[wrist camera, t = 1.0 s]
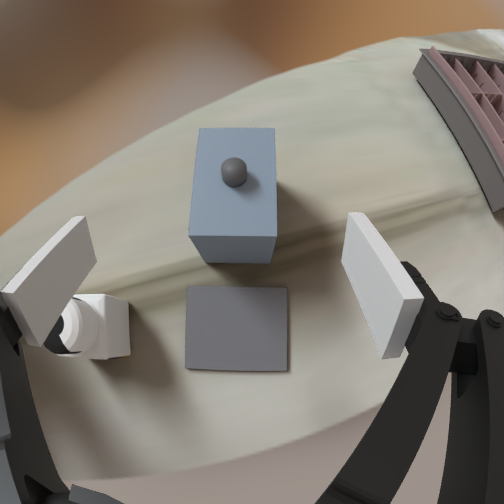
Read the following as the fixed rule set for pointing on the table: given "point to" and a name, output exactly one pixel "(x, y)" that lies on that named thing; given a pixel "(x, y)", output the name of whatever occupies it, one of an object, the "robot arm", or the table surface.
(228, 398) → the table surface
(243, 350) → the mat
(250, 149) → the cover
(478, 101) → the organizer tray
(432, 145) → the table surface
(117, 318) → the medicine bottle
